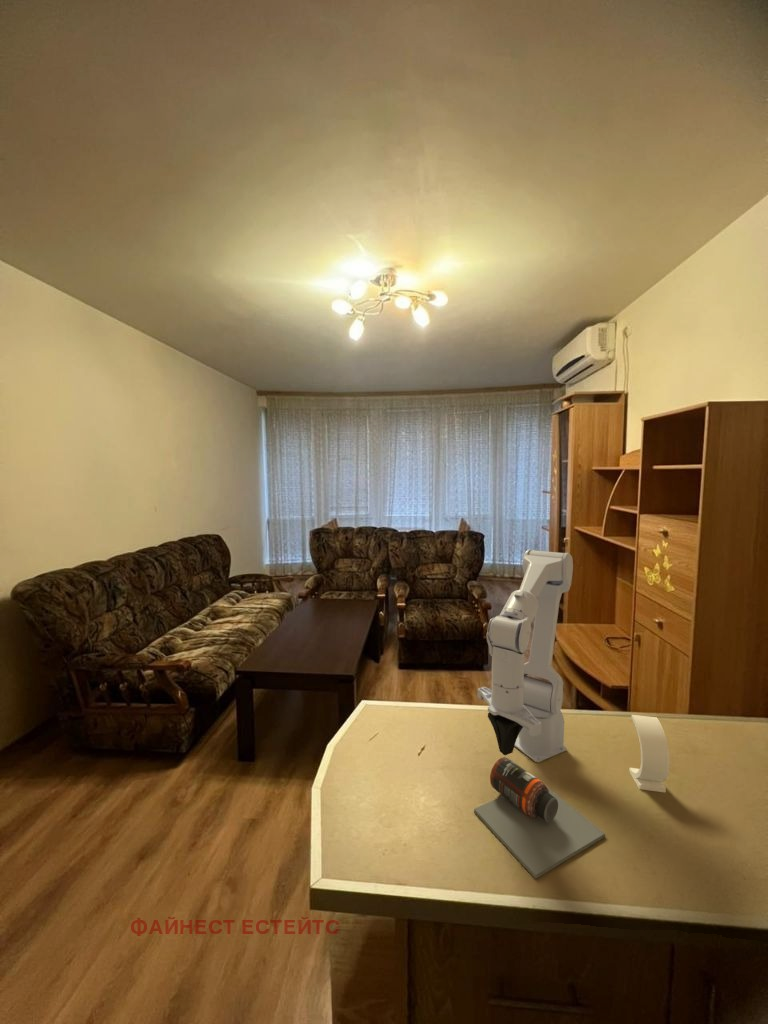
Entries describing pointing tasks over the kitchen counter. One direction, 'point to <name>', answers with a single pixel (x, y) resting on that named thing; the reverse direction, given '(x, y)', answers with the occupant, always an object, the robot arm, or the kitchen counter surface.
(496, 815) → the mat
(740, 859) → the kitchen counter surface
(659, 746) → the headphone stand
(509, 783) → the supplement bottle
